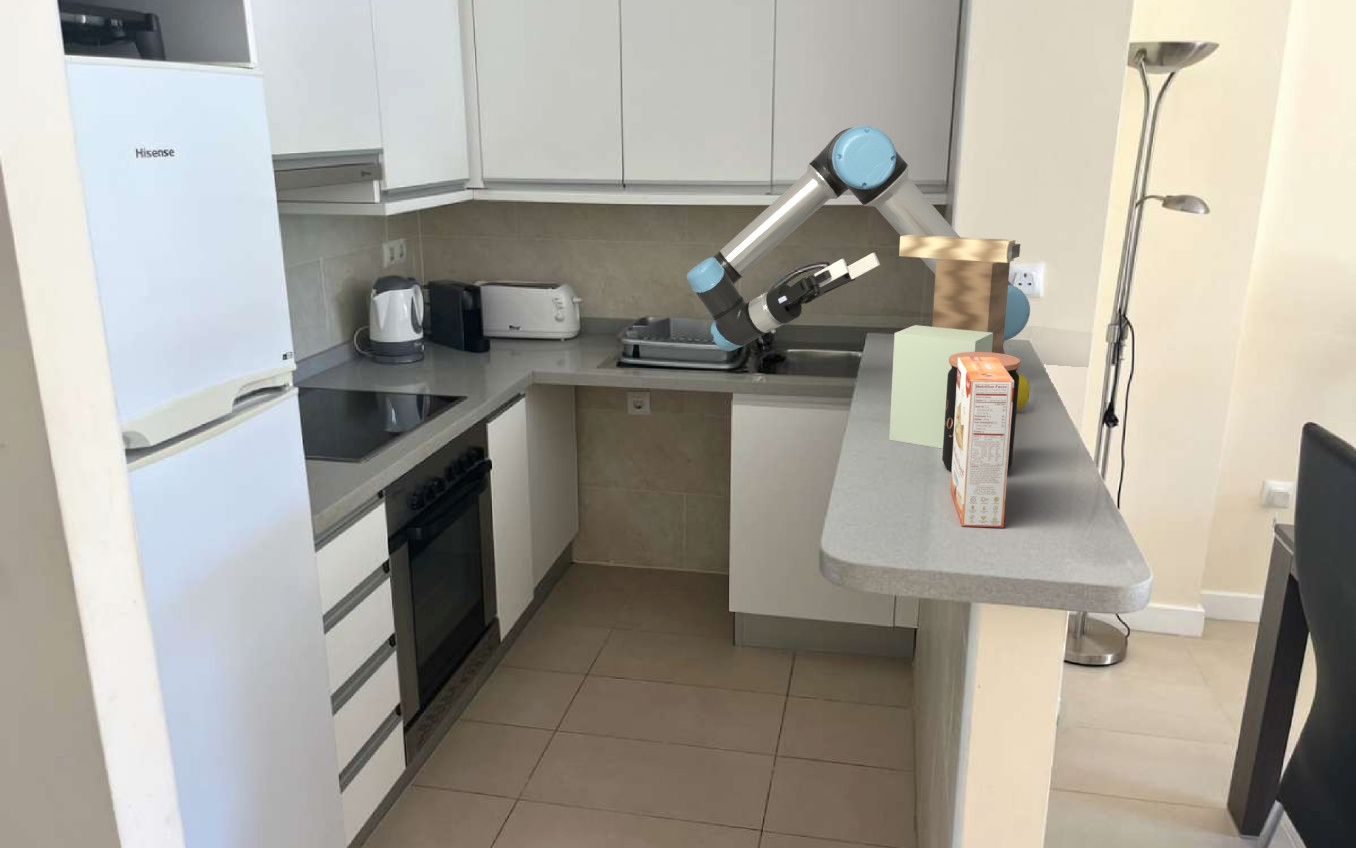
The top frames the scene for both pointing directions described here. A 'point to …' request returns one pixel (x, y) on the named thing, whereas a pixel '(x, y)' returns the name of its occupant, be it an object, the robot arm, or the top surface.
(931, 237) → the light wooden bar
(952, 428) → the coffee jar
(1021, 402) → the lemon
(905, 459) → the top surface
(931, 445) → the pale green rectangular prism
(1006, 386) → the cracker box
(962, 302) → the stand
